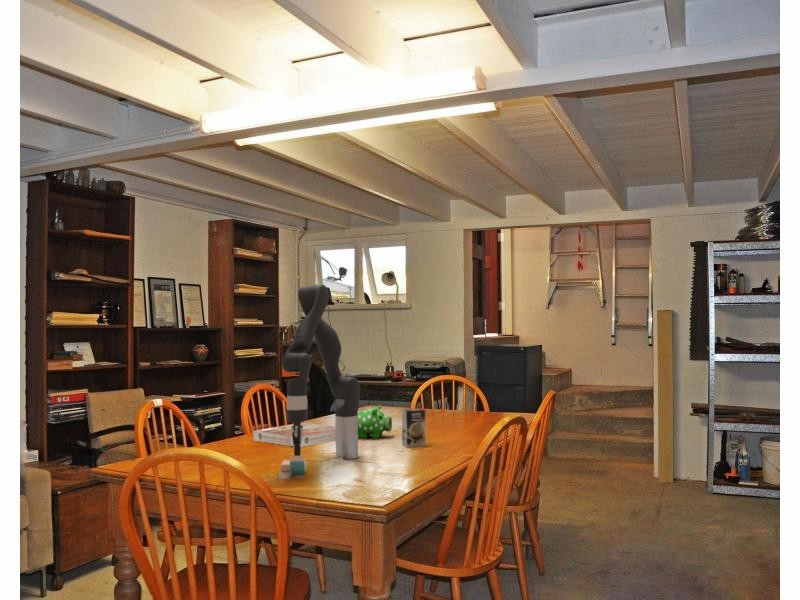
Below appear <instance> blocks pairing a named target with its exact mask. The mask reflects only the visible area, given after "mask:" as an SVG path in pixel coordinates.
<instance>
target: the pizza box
mask: <svg viewBox="0 0 800 600" xmlns="http://www.w3.org/2000/svg"><path fill="white" fill-rule="evenodd" d="M293 424H294V423H291V424H286V425H280V426H274V427H269V428H267V427H266V428H263V429H262V428H261V429H256V430H252V431H253V437H252V438H253V441H254V442H258V441H261V442H260V443H264V442H268V443H267V444H270V443H275V444H274V445H277V444H282V445H281V446H283V445H288V446H287V447H289V446H294V445H293V439H292V431H291V427H292V426H293ZM301 426H303V430H302V439H301V440H302V441H301V448H304V447H303V446H306V447H309V446H308V445H311V446H313V444H316V445H320V444H324V443H330V442H336V427H335V425H328V424H327V425H326V424H320V423H317V424H316V423H310V422H301ZM319 443H320V444H319Z"/></svg>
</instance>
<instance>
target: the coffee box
mask: <svg viewBox="0 0 800 600" xmlns="http://www.w3.org/2000/svg"><path fill="white" fill-rule="evenodd" d="M401 412H402V413H401V417H402V418H401V419H402V420H401V426H402V427H401V429H402V430H401V433H402V435H401V444H402V446H404V447H405V448H417V447H425V446H426V410H425V409H421V408H415V409H414V408H413V409H411V408H410V409H402V410H401Z"/></svg>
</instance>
